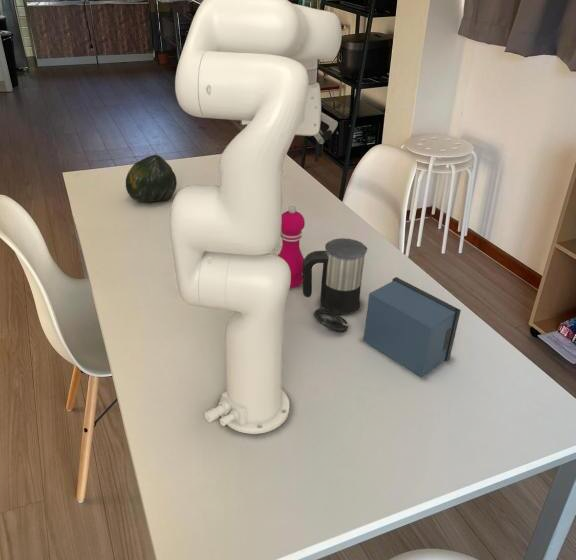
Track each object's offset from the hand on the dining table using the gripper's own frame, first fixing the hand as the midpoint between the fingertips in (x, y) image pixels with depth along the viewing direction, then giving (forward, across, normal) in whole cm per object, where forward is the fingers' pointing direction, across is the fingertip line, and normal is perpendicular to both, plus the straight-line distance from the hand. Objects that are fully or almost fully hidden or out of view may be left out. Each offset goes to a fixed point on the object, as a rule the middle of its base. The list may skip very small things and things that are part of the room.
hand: (294, 158), depth 125 cm
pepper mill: (+31, 0, -1) cm, 31 cm away
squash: (+31, -48, +40) cm, 70 cm away
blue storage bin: (+31, +27, -23) cm, 47 cm away
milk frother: (+31, +12, -12) cm, 36 cm away
